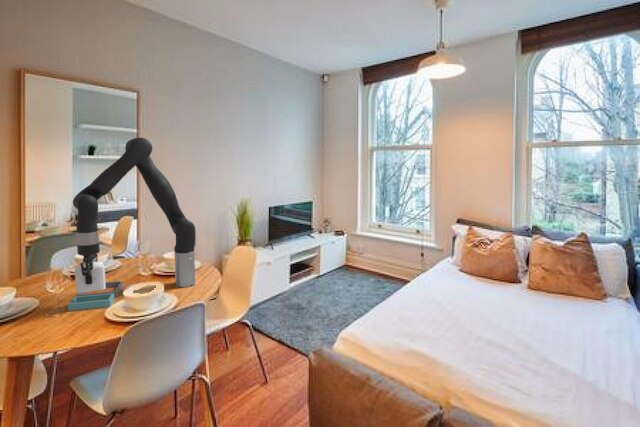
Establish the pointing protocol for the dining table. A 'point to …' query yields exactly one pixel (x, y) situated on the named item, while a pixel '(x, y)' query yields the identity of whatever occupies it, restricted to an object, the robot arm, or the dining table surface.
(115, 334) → the dining table surface
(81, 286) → the grey rounded block
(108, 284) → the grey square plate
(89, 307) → the tray
